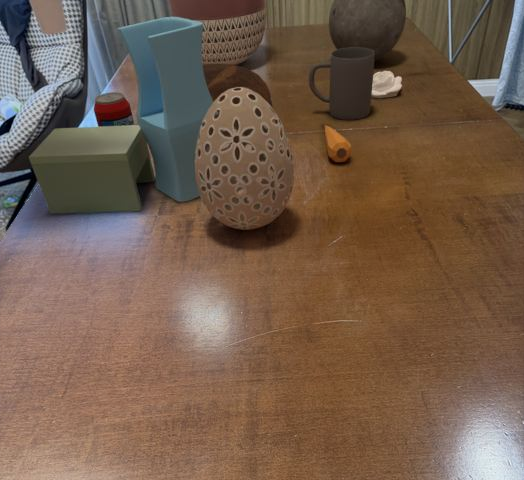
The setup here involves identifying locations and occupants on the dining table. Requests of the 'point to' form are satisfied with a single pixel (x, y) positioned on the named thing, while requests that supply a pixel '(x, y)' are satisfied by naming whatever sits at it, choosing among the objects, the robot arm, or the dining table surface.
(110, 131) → the sage green box
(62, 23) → the cup
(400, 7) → the decorative sphere
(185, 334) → the dining table surface
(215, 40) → the planter
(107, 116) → the beverage can
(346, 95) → the mug
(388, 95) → the rose
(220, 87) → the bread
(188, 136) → the vase
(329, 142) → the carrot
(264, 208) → the ornament
